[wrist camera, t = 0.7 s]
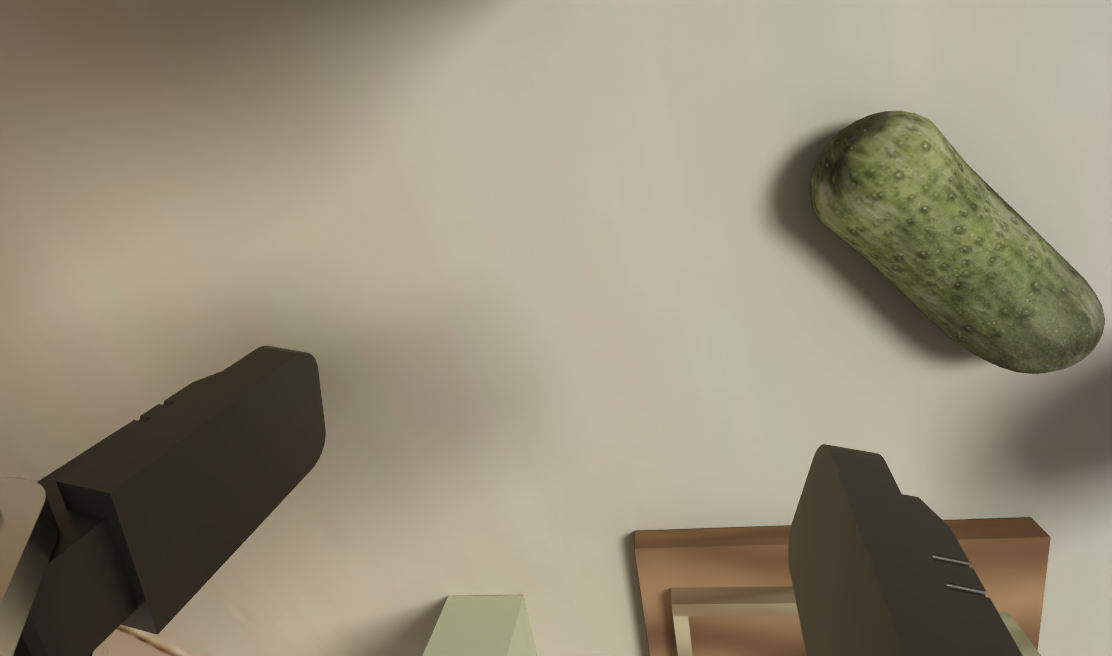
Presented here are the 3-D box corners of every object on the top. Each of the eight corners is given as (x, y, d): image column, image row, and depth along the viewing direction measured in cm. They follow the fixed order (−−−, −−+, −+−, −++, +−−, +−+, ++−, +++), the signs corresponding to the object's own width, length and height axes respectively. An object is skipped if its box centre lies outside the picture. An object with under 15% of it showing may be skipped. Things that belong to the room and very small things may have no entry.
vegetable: (773, 183, 26) (800, 195, 21) (867, 87, 24) (918, 77, 20) (985, 378, 27) (1053, 429, 23) (1088, 300, 26) (1185, 338, 21)
